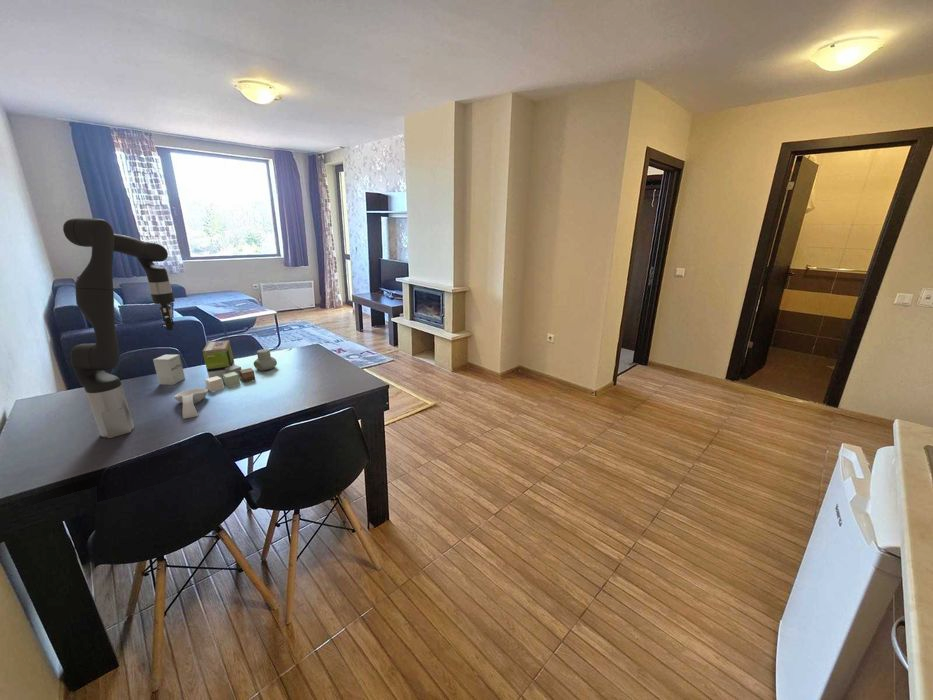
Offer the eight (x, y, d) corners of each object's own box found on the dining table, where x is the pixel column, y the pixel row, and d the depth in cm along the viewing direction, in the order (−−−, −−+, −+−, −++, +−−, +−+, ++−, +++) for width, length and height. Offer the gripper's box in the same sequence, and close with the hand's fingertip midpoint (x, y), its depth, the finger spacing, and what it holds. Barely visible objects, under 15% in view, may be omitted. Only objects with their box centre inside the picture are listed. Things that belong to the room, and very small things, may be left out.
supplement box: (174, 384, 176) (167, 359, 172) (158, 384, 177) (151, 359, 173) (185, 378, 183) (179, 354, 179) (170, 378, 184) (164, 354, 180)
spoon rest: (177, 399, 163) (173, 383, 161) (209, 393, 169) (206, 378, 167) (173, 422, 144) (168, 405, 142) (209, 414, 150) (205, 398, 148)
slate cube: (242, 376, 187) (240, 366, 186) (232, 379, 183) (230, 370, 182) (236, 374, 190) (235, 365, 188) (226, 377, 185) (224, 368, 184)
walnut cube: (255, 380, 183) (253, 370, 181) (244, 382, 180) (242, 373, 178) (252, 377, 186) (250, 367, 185) (241, 379, 183) (239, 370, 181)
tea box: (213, 368, 196) (207, 341, 192) (235, 366, 200) (230, 339, 196) (208, 379, 183) (201, 350, 179) (232, 376, 187) (226, 347, 183)
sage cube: (240, 384, 178) (238, 374, 177) (228, 387, 175) (226, 377, 173) (236, 381, 181) (234, 371, 180) (224, 384, 178) (222, 374, 176)
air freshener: (279, 368, 198) (277, 350, 194) (264, 373, 191) (261, 354, 188) (267, 364, 203) (264, 346, 200) (252, 369, 196) (249, 350, 193)
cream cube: (223, 388, 173) (221, 378, 172) (211, 392, 170) (209, 381, 168) (219, 385, 176) (217, 375, 175) (207, 389, 172) (204, 379, 171)
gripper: (171, 293, 160) (180, 330, 166) (172, 288, 171) (181, 323, 177) (149, 295, 156) (159, 332, 162) (151, 290, 167) (161, 325, 173)
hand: (170, 327), depth 169 cm, fingers open, 8 cm apart
